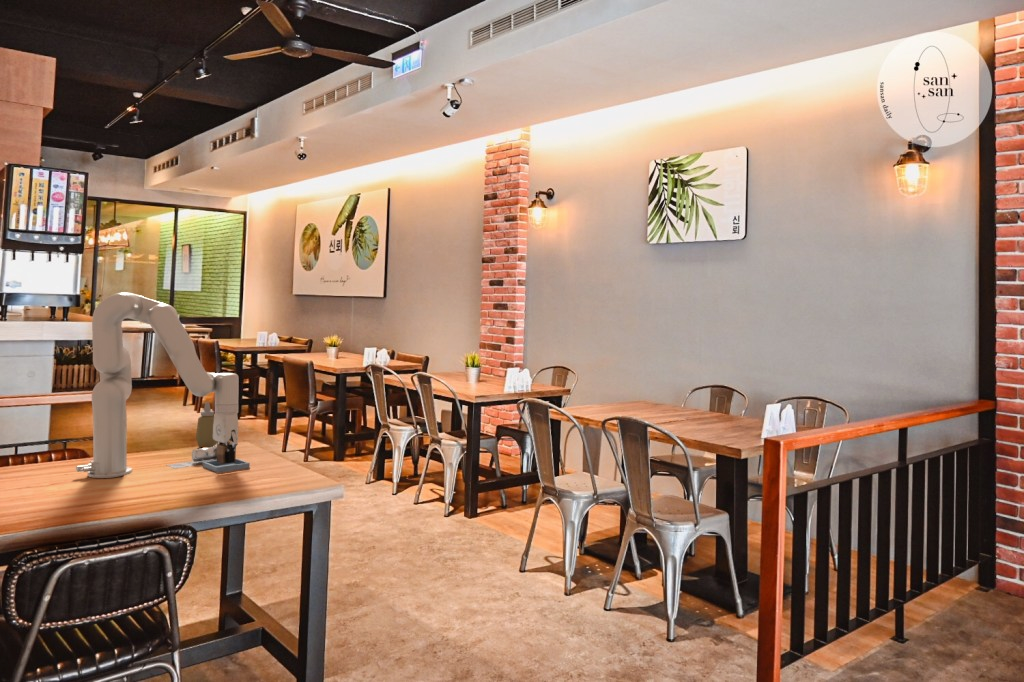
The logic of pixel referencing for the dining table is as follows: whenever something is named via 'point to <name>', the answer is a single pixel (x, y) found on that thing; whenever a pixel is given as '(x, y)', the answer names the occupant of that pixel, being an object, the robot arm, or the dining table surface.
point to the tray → (226, 466)
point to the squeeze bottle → (205, 428)
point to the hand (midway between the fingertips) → (226, 460)
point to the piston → (204, 454)
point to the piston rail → (188, 464)
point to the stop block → (222, 453)
